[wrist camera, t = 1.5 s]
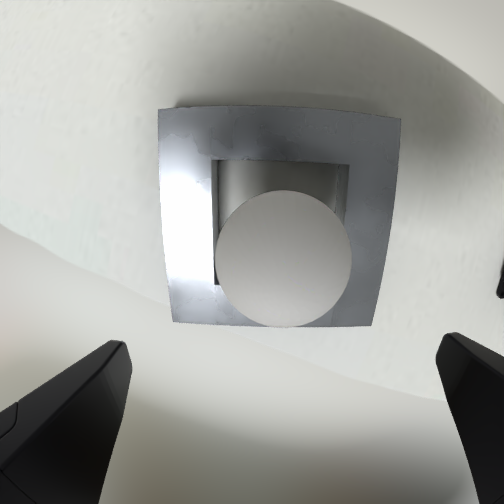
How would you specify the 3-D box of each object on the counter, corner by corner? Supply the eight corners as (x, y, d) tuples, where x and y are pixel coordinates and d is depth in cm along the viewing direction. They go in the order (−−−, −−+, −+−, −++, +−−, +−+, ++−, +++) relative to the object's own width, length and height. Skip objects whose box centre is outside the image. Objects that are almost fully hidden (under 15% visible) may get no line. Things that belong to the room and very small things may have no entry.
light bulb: (244, 159, 19) (225, 187, 9) (334, 185, 19) (394, 238, 10) (222, 245, 21) (190, 337, 12) (305, 267, 21) (332, 367, 12)
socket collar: (385, 119, 17) (400, 119, 15) (361, 307, 22) (371, 325, 20) (170, 111, 18) (157, 109, 15) (181, 303, 23) (172, 322, 20)
